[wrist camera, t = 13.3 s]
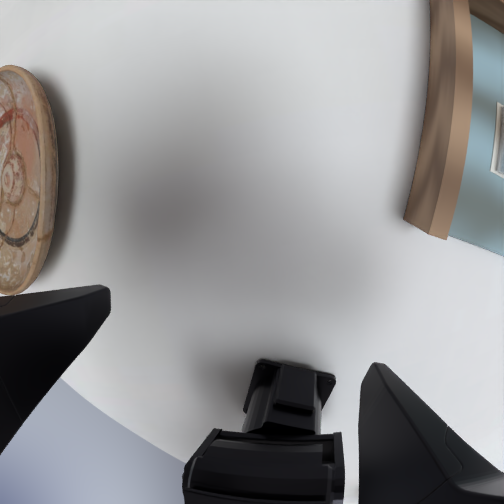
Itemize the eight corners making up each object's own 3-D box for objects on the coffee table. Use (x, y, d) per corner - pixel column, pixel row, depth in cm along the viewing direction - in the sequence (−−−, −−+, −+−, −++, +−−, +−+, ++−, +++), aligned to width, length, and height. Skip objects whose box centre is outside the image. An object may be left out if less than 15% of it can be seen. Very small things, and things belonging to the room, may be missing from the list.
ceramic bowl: (-31, 185, 25) (-55, 191, 20) (36, 39, 18) (5, 31, 13) (35, 315, 27) (8, 333, 22) (129, 169, 20) (85, 172, 15)
